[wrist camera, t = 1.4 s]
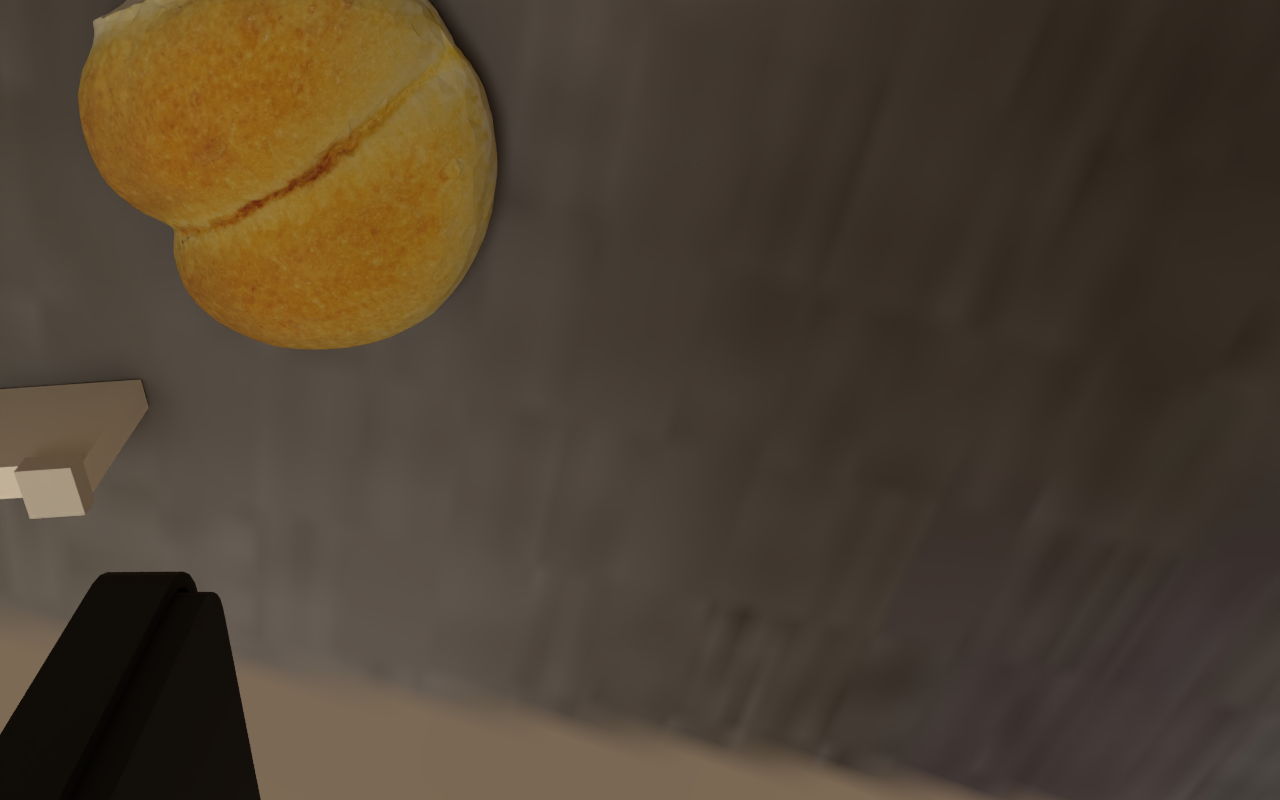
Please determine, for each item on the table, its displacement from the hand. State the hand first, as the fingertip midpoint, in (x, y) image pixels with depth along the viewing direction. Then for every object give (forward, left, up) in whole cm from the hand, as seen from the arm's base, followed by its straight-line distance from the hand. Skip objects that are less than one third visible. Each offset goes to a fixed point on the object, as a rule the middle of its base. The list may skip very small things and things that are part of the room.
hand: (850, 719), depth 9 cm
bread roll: (+8, +1, -21) cm, 23 cm away
